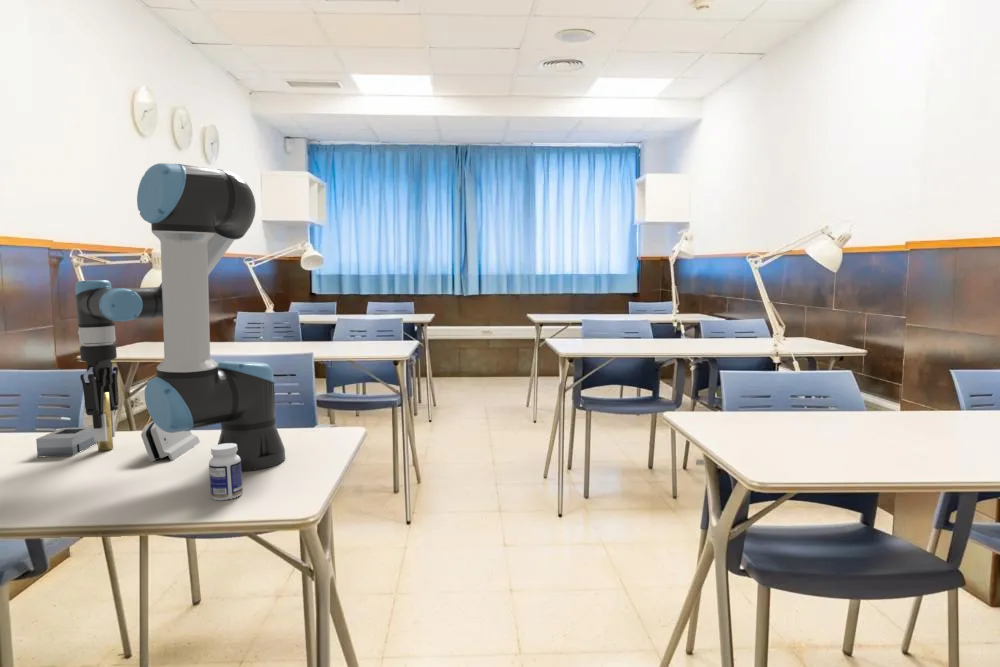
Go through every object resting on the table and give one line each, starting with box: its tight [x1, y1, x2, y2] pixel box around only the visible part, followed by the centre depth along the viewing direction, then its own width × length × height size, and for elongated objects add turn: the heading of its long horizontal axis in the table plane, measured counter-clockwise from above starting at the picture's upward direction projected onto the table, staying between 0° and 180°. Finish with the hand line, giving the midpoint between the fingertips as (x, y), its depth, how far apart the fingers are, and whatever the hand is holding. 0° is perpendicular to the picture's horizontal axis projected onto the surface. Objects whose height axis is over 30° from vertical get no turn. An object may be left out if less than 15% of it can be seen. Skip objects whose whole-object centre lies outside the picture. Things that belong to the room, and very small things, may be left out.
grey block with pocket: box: [35, 426, 98, 457], centre depth 162 cm, size 12×8×4 cm
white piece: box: [140, 420, 201, 462], centre depth 159 cm, size 17×5×10 cm, turn 3°
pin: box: [97, 392, 114, 452], centre depth 161 cm, size 3×3×14 cm
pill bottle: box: [208, 443, 244, 501], centre depth 127 cm, size 6×6×10 cm
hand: (104, 438), depth 161 cm, fingers closed on pin, 3 cm apart
